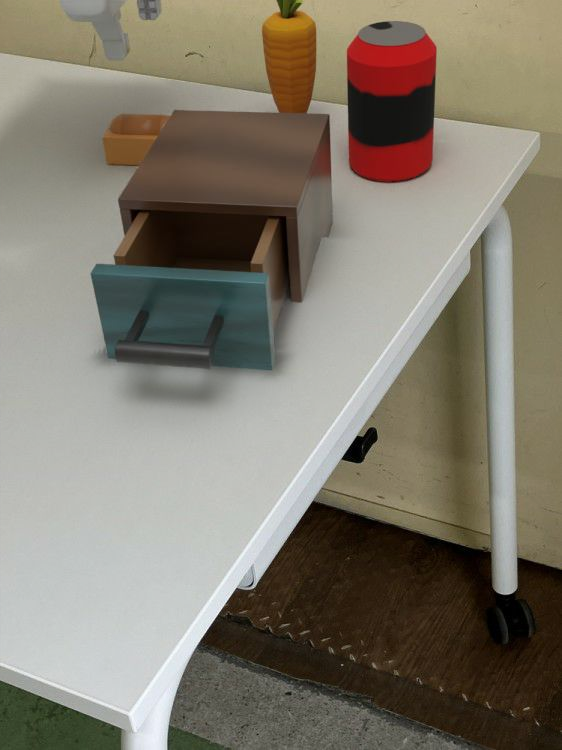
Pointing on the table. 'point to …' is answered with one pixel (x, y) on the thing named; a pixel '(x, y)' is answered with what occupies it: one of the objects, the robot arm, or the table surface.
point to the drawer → (195, 290)
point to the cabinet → (242, 175)
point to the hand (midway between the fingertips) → (135, 36)
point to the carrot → (290, 56)
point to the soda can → (391, 101)
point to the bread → (131, 137)
